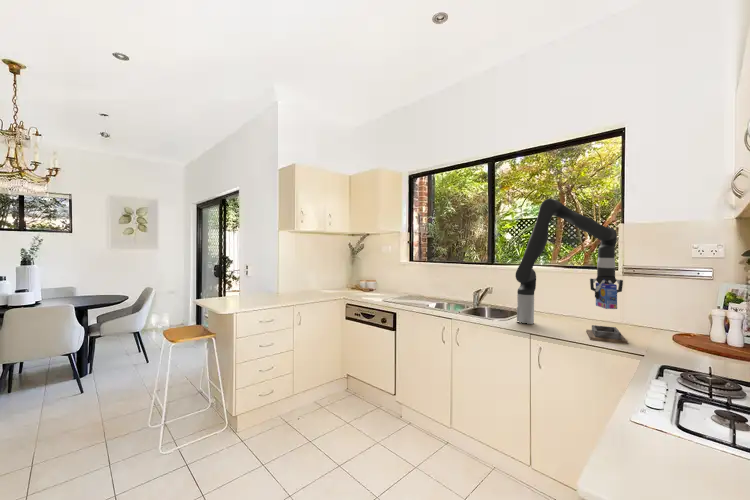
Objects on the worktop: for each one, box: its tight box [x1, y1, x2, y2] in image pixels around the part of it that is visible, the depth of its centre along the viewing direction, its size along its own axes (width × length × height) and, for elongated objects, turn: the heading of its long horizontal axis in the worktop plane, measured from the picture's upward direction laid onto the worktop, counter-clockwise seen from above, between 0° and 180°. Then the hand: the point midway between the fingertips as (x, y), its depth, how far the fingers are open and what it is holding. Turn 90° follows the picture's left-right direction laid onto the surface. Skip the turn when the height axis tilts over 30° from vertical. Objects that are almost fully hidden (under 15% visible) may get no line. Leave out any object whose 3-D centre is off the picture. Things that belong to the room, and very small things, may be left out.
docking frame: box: [585, 324, 629, 345], centre depth 170 cm, size 15×18×4 cm
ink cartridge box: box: [595, 279, 618, 310], centre depth 169 cm, size 10×6×14 cm, turn 174°
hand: (605, 299), depth 170 cm, fingers closed on ink cartridge box, 6 cm apart
